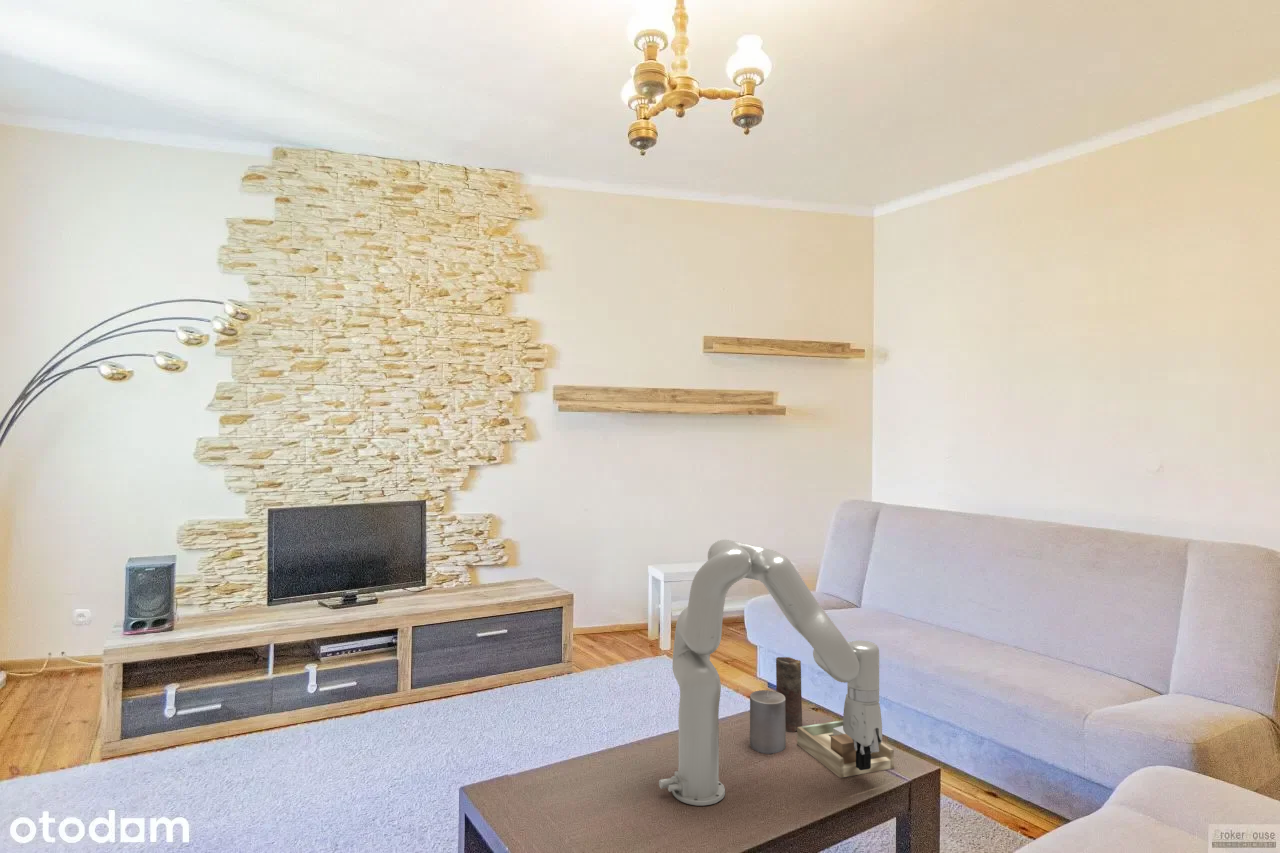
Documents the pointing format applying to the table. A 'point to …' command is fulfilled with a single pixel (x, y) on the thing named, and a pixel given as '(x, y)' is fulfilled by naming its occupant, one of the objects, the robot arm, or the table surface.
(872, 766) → the tray
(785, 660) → the brown wooden cylinder
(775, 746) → the pillar candle
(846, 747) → the walnut block
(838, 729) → the trapped grey block
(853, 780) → the table surface
